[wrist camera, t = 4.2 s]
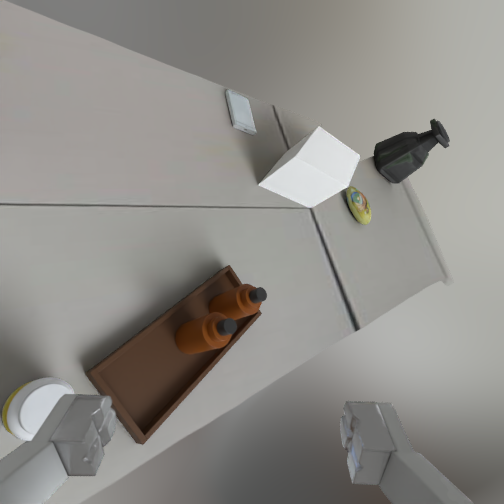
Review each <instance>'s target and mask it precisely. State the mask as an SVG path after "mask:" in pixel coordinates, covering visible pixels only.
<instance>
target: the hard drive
mask: <svg viewBox="0 0 504 504" xmlns="http://www.w3.org/2000/svg"><path fill="white" fill-rule="evenodd" d="M225 93H226V98H227V102H228V107H229V111H230V115H231V120H232V124H233V127H234V128H236V129H238V130H241V131H244V132H246V133H249V134H251V135H255V134H256V133H257V132H256V128H255V124H254V120H253V116H252V112H251V108H250V104H249V100H248V99H247V98H245V97H243V96H241V95H239V94H237V93H235V92H233V91H231V90H227V91H226V92H225Z"/></svg>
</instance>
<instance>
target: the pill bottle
mask: <svg viewBox="0 0 504 504" xmlns="http://www.w3.org/2000/svg"><path fill="white" fill-rule="evenodd" d="M64 394H75V393H74V390H73V388H72V387H71V386H70V384H69V383H67V382H66V381H64V380H62V379H60V378H55V377H45V378H41V379H37V380H34V381H31V382H28V383H26V384H24V385H22V386H20V387H19V388H17V389H16V390H15V391H14V392H13V393H12V394H11V395H10V396H9V397H8V399H7V400H6V402H5V404H4V406H3V409H2V422H3V425H4V427H5V428H6V430H7V431H8V432H10V433H11V434H13V435H14V436H15V437H17V438H19V439H21V440H24V441H31V440H32V439H33V437H34V436H35V434H36V433H37V431H38V430H39V429H40V427H41V426H42V424H43V423H44V421H45V420H46V418H47V417H48V415H49V414H50V412H51V411H52V409H53V408H54V406H55V405H56V403H57V402H58V400H59V399H60V398H61V397H62V396H63V395H64Z"/></svg>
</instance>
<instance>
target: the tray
mask: <svg viewBox="0 0 504 504" xmlns="http://www.w3.org/2000/svg"><path fill="white" fill-rule="evenodd" d="M241 285H243V284H242V283H241V281H240V280H239V278H238V277H237V275H236V274H235V272H234V271H233V269H232V268H231V266H230V265H228V266H226V267H225V268H223V269H221V270H220V271H219V272H217V273H216V274H215V275H214V276H212V277H211V278H210V279H208V280H207V281H206V282H204V283H203V284H202V285H200V286H199V287H198V288H196V289H195V290H194V291H193V292H191V293H190V294H189V295H187V296H186V297H185V298H183V299H182V300H181V301H179V302H178V303H177V304H176V305H174V306H173V307H172V308H170V309H169V310H168V311H166V312H165V313H164V314H162V315H161V316H160V317H158V318H157V319H156V320H155V321H153V322H152V323H151V324H149V325H148V326H147V327H145V328H144V329H143V330H141V331H140V332H139V333H138V334H136V335H135V336H134V337H132V338H131V339H130V340H128V341H127V342H126V343H124V344H123V345H122V346H120V347H119V348H118V349H117V350H115V351H114V352H113V353H111V354H110V355H109V356H107V357H106V358H105V359H103V360H102V361H101V362H100V363H98V364H97V365H96V366H94V367H93V368H92V369H90V370H89V371H88V372H86V373H85V374H86V376H87V377H88V378H89V380H90V381H91V382H92V384H93V385H94V386H95V388H96V389H97V390H98V392H99V393H100V395H104V396H111V399H112V405H111V408H112V409H113V410H115V413H116V416H117V417H118V419H119V420H120V422H121V423H122V424H123V426H124V427H125V428H126V430H127V431H128V432H129V434H130V435H131V436H132V438H133V439H134V440H135V442H136V443H138V444H142V445H143V444H144V443H145V442H146V441H147V439H149V438H150V436H151V435H152V434H153V433H154V432H155V431H156V430H157V429H158V428H159V427H160V425H161V424H162V423H163V422H164V421H165V420H166V419H167V418H168V417H169V415H170V414H171V413H172V412H173V411H174V410H175V409H176V408H177V407H178V406H179V404H180V403H181V402H182V401H183V400H184V399H185V398H186V397H187V396H188V395H189V393H190V392H191V391H192V390H193V389H194V388H195V387H196V386H197V385H198V383H199V382H200V381H201V380H202V379H203V378H204V377H205V376H206V375H207V374H208V372H209V371H210V370H211V369H212V368H213V367H214V366H215V365H216V364H217V363H218V361H219V360H220V359H221V358H222V357H223V356H224V355H225V354H226V353H227V351H228V350H229V349H230V348H231V347H232V346H233V345H234V344H235V343H236V342H237V340H238V339H239V338H240V337H241V336H242V335H243V334H244V333H245V332H246V330H247V329H248V328H249V327H250V326H251V325H252V324H253V323H254V322H255V321H256V319H257V318H258V317H259V316H260V315H261V314H262V313H261V312H260V310H258V311H257V312H256V313H255V314H252V315H249V316H246V317H243V318H239V319H236V320H234V321H235V322H236V325H237V328H236V331H235V332H234V333H233V334H232V335H231V338H230V341H229V342H228V343H227V345H225V346H224V347H222V348H218V349H213V350H209V351H204V352H200V353H195V354H185V353H183V352H182V351H180V350H179V348H178V347H177V345H176V341H175V336H176V332H177V330H178V328H179V327H180V326H181V325H182V324H184V323H186V322H189V321H192V320H194V319H197V318H199V317H202V316H205V315H207V314H210V313H209V304H210V301H211V300H212V299H213V298H214V297H215V296H218V295H220V294H222V293H225V292H227V291H229V290H231V289H234V288H236V287H238V286H241Z"/></svg>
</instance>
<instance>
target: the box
mask: <svg viewBox="0 0 504 504" xmlns="http://www.w3.org/2000/svg"><path fill="white" fill-rule="evenodd" d="M359 158H360V155H358V154H357V153H356V152H354V151H353V150H352V149H350V148H349V147H347V146H346V145H345V144H343V143H341V142H340V141H339V140H338V139H336V138H335V137H333V136H332V135H331V134H329V133H328V132H326V131H325V130H324V129H322V128H321V127H319V126H318V127H317V128H316V129H314V130H313V131H312V132H311V133H309V134H308V135H307V136H306V137H304V138H303V139H302V140H301V141H299V142H298V143H297V144H296V145H294V146H293V147H292V148H291V149H289V150H288V151H287V152H286V153H285V154H284V155H283V156H282V157H281V158H280V159H279V161H278V162H277V163H276V164H275V165H274V167H273V168H272V169H271V170H270V171H269V172H268V174H267V175H266V176H265V177H264V178H263V180H262V181H261V182H260V183H259V184H258V185H259V186H261V187H264V188H266V189H268V190H270V191H273V192H275V193H277V194H279V195H282V196H284V197H286V198H288V199H291V200H293V201H295V202H297V203H300V204H302V205H304V206H306V207H309V208H312V207H314V206H315V205H317V204H319V203H321V202H322V201H324V200H326V199H327V198H329V197H331V196H333V195H334V194H336V193H338V192H340V191H341V190H343V189H345V188H347V187H348V186H349V183H350V181H351V178H352V176H353V173H354V171H355V168H356V166H357V163H358V161H359Z"/></svg>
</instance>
